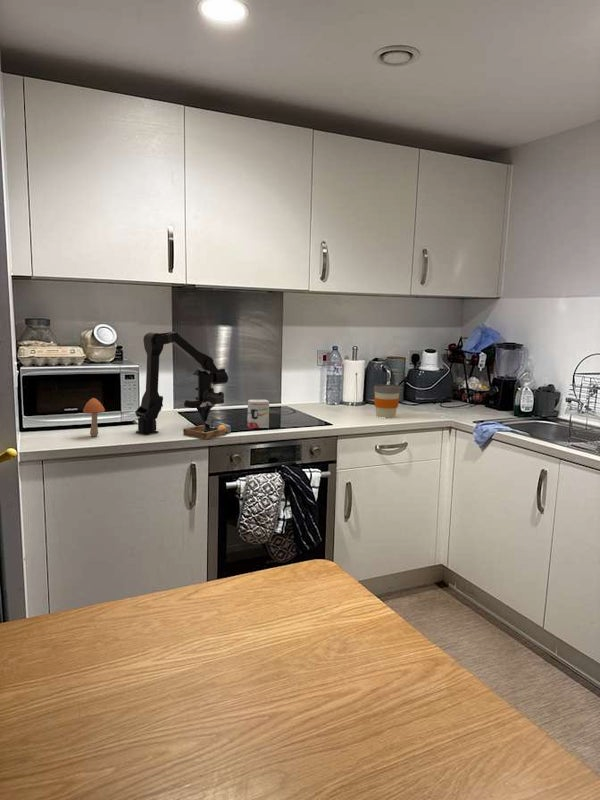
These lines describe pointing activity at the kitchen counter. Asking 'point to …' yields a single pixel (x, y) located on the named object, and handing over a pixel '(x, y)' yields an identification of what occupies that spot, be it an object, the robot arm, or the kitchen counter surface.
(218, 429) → the ball
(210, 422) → the lever
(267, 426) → the ink box
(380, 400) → the reusable coffee cup
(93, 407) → the mushroom
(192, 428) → the wooden tray
